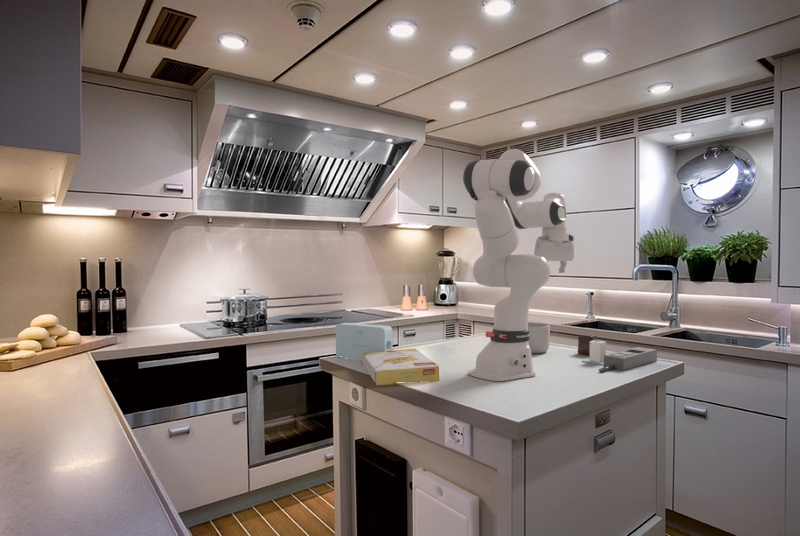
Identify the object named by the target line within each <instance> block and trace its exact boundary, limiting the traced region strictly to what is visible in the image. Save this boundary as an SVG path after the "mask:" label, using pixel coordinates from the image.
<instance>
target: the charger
mask: <svg viewBox="0 0 800 536" xmlns="http://www.w3.org/2000/svg"><path fill="white" fill-rule="evenodd" d="M604 355H607V342H606V340H605V341H603V340H599V339H597V340H594V341H590V355H589V359H590V361H594V362H604Z"/></svg>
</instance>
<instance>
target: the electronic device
mask: <svg viewBox="0 0 800 536" xmlns="http://www.w3.org/2000/svg"><path fill="white" fill-rule="evenodd" d="M577 340H578V342H577V344H578V345H577V354H578V355H584V354H585V355H584V356H590V341H594V340H598V338H597V336H596V335H580V336H578V337H577Z"/></svg>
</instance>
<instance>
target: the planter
mask: <svg viewBox="0 0 800 536" xmlns="http://www.w3.org/2000/svg"><path fill="white" fill-rule="evenodd" d="M528 329H529V333H530V336H529V341H528V343H529V347H530V349H531V354H544V353H546V352H547V351H548V350H549V347H550V338H551V337H550V334H551V325H550V324H548V323H541V322H528Z"/></svg>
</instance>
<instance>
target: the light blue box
mask: <svg viewBox="0 0 800 536" xmlns="http://www.w3.org/2000/svg"><path fill="white" fill-rule="evenodd" d="M393 334H394V333H393V327H391V326H390V325H381V324H367V323H358V322H357V323H354V322H342V323H337V324H336V325H335V356H336V358H337V357H339V356H342V357H341V358H340V359H342V358H348V359H347V360H349V359H353V360H352V361H357V360H363V357H362V354H363V353H370V352H383V351H394V349H393V345H394V343H393V342H394V341H393V340H394V339H393V337H394V336H393Z"/></svg>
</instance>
